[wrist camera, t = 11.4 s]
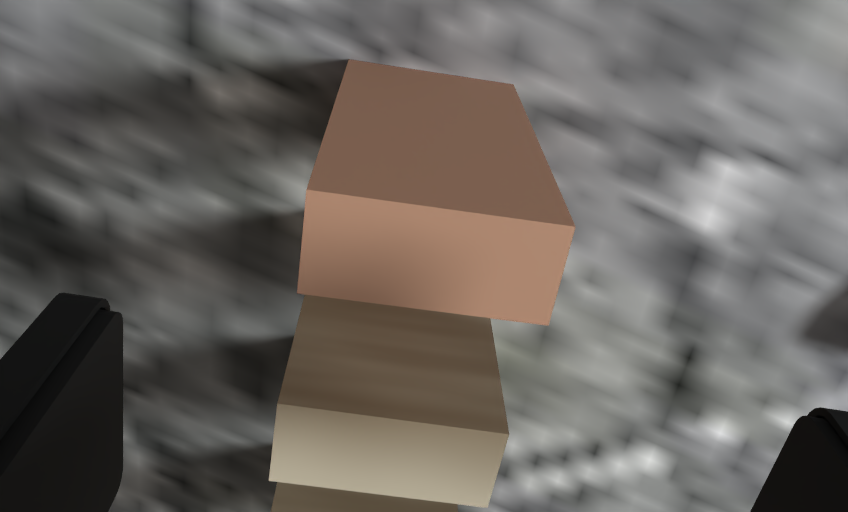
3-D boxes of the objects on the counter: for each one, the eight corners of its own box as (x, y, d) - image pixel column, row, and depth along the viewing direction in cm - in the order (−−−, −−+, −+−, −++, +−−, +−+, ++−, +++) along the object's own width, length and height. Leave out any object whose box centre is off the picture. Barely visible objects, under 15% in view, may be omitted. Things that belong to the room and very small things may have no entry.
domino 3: (436, 402, 29) (445, 646, 20) (303, 383, 28) (251, 625, 19) (447, 354, 28) (462, 589, 19) (310, 334, 27) (258, 566, 18)
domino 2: (463, 288, 26) (487, 508, 17) (318, 266, 26) (268, 480, 17) (476, 232, 25) (509, 434, 16) (326, 208, 25) (276, 403, 16)
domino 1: (499, 153, 24) (548, 325, 15) (340, 129, 24) (296, 293, 15) (513, 84, 23) (575, 226, 14) (348, 59, 23) (306, 189, 14)
